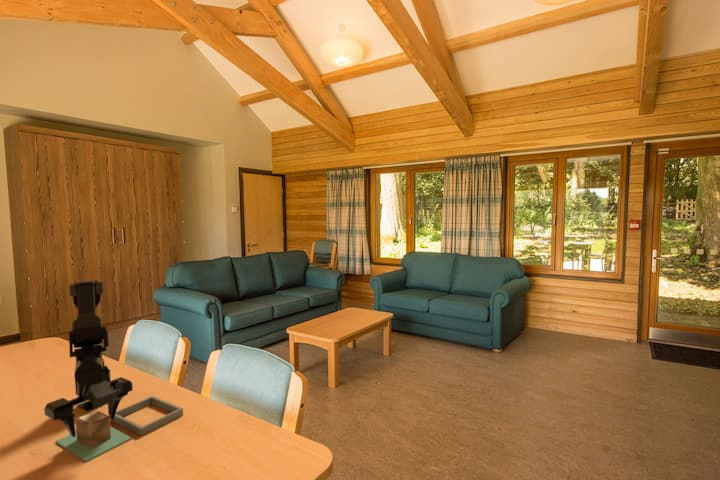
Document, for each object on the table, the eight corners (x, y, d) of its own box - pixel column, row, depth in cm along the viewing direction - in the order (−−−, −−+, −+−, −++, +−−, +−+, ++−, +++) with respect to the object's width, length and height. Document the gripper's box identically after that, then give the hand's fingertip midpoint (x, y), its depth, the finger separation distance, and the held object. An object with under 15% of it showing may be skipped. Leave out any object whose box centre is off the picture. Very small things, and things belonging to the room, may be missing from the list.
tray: (111, 420, 113) (110, 413, 113) (152, 401, 124) (152, 395, 124) (141, 435, 105) (141, 428, 105) (183, 414, 116) (183, 408, 116)
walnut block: (90, 448, 99) (88, 425, 99) (76, 440, 103) (75, 417, 102) (110, 438, 103) (109, 416, 103) (97, 430, 107) (96, 409, 106)
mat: (55, 442, 102) (55, 440, 102) (100, 422, 112) (100, 421, 112) (85, 462, 94) (85, 460, 94) (131, 439, 104) (131, 437, 104)
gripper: (62, 392, 89) (66, 456, 91) (142, 364, 105) (145, 419, 107) (41, 381, 95) (45, 442, 96) (120, 357, 111) (123, 409, 112)
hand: (93, 427), depth 103 cm, fingers open, 9 cm apart
